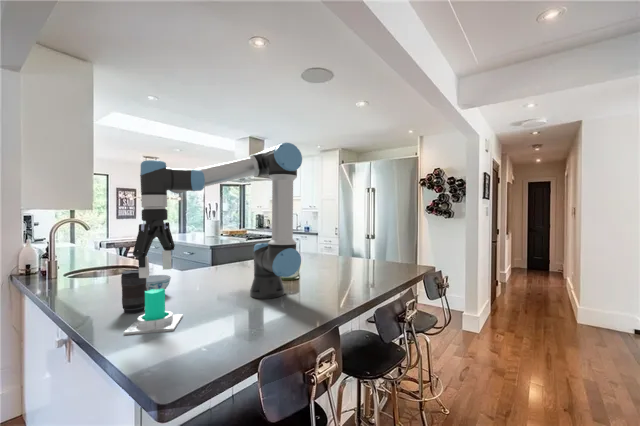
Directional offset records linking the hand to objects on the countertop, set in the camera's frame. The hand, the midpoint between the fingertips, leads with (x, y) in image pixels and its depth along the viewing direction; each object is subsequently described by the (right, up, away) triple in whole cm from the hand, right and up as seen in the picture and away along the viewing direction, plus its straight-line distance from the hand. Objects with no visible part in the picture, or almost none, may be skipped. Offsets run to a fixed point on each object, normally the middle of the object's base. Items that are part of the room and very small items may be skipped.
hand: (156, 273), depth 103 cm
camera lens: (-16, -17, +15) cm, 28 cm away
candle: (0, -16, 0) cm, 16 cm away
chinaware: (-21, -17, +37) cm, 46 cm away
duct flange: (0, -17, 0) cm, 17 cm away
